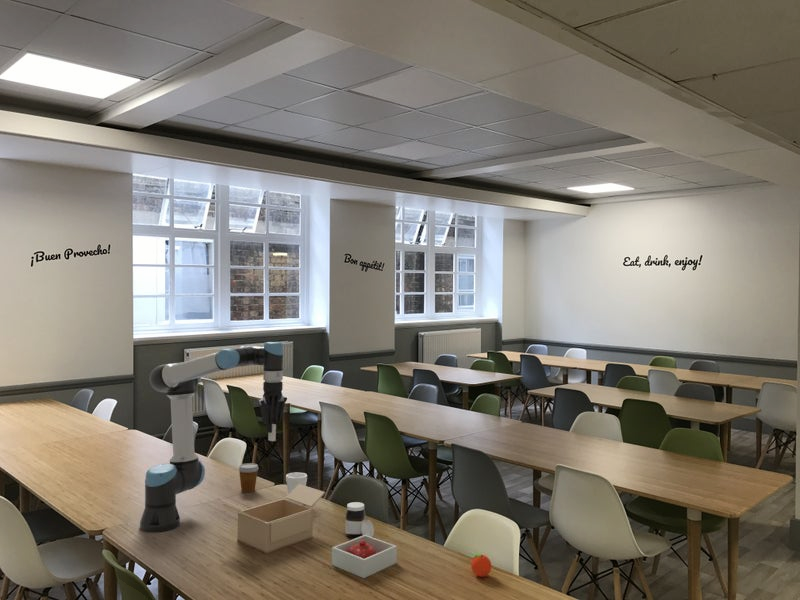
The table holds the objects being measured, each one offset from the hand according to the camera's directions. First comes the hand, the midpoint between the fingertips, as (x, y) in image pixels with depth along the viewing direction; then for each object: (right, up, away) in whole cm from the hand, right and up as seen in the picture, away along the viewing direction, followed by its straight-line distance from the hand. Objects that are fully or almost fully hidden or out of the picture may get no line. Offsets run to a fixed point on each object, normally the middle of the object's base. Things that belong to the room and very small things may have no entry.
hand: (271, 440), depth 248 cm
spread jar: (+35, -37, -2) cm, 51 cm away
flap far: (+12, -23, +4) cm, 26 cm away
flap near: (-7, -22, -18) cm, 30 cm away
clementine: (+78, -38, -36) cm, 94 cm away
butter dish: (+38, -38, -29) cm, 60 cm away
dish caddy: (+38, -37, -28) cm, 60 cm away
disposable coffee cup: (-22, -36, +53) cm, 68 cm away
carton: (+3, -37, -7) cm, 37 cm away
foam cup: (+4, -37, +34) cm, 50 cm away
